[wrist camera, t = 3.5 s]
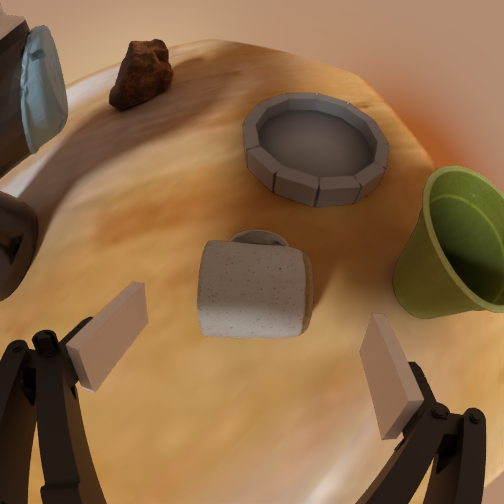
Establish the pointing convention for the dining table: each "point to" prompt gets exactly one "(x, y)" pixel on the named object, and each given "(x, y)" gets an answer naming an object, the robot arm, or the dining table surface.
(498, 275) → the plant pot
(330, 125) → the round tray
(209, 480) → the dining table surface
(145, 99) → the decorative rock
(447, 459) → the robot arm
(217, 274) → the ceramic mug
